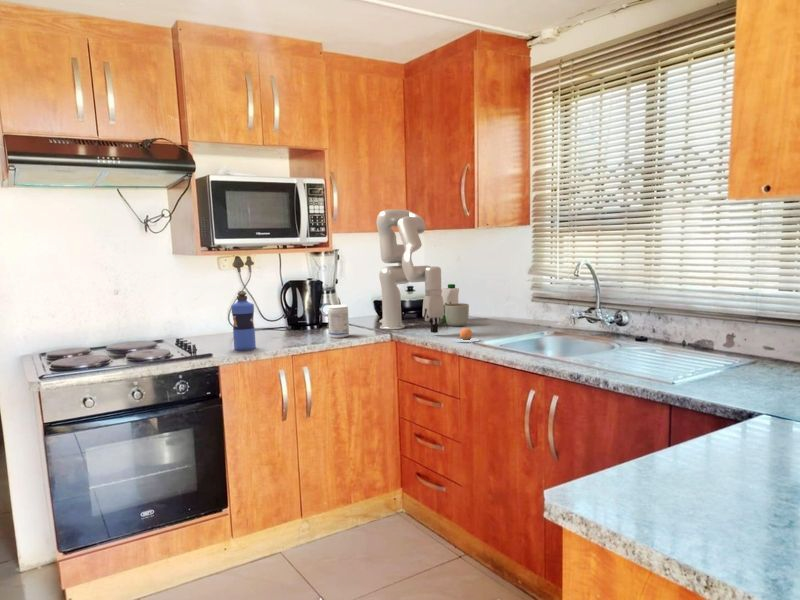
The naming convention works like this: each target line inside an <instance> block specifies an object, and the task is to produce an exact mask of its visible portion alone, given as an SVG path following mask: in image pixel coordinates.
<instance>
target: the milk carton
mask: <svg viewBox="0 0 800 600" xmlns="http://www.w3.org/2000/svg"><path fill="white" fill-rule="evenodd" d="M441 290H442V297H443V304H444V315H443V319H441V320H440V322H441V321H446V316H445V305H446V304H453V303H459V291H460V288H459V287H458V288H457V287H456V284H454V283H451V284H450V283H449V284H447V287H441Z"/></svg>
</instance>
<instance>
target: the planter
mask: <svg viewBox="0 0 800 600" xmlns="http://www.w3.org/2000/svg"><path fill="white" fill-rule="evenodd" d="M469 311H470V305H469V303H463V302H462V303H459V302H458V303H453V304H446V305H445V316H446V322H445V323H446V324H448V325H449V326H451V327H464V326H465V325H467V324H468V321H469ZM463 325H464V326H463Z"/></svg>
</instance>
